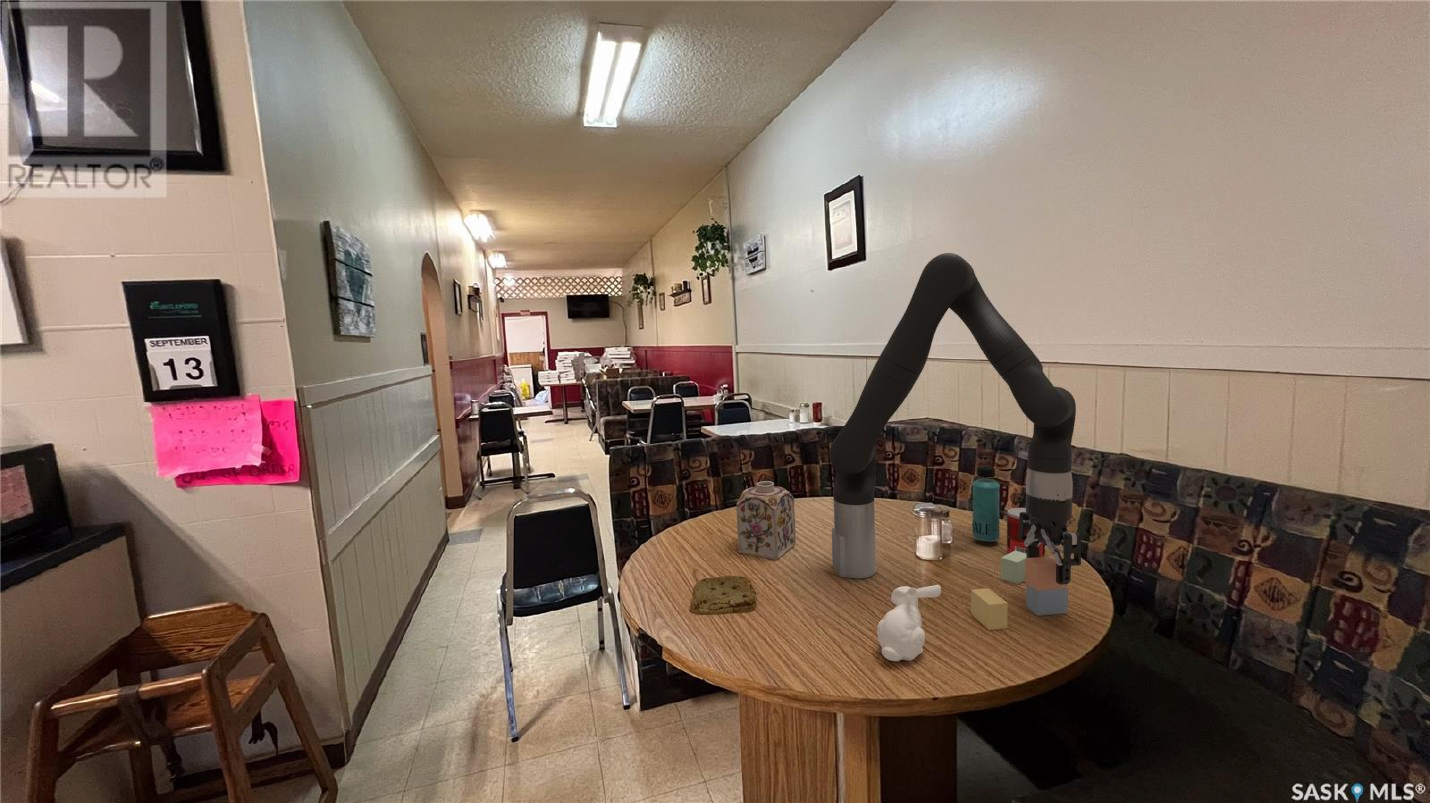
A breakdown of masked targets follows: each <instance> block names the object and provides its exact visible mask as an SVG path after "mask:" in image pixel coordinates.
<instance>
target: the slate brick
mask: <svg viewBox="0 0 1430 803" xmlns="http://www.w3.org/2000/svg"><path fill="white" fill-rule="evenodd" d="M1025 584H1026V583H1025ZM1068 604H1069V587H1067V588H1063V589H1051V590H1040V591H1037V590H1035V589H1034V588H1032V587H1031V586H1029V585H1028V584H1026V586H1025V607H1026V608H1027V610H1030V611H1031V612H1033V613H1034V614H1035V615H1036V616H1038V617H1039V616H1049V615H1060V614H1068V610H1069V605H1068Z"/></svg>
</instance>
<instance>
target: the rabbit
mask: <svg viewBox="0 0 1430 803" xmlns="http://www.w3.org/2000/svg"><path fill="white" fill-rule="evenodd" d="M941 594H942V588H941V585H939V584H935V585H931V586H923V587H919V588H916V587H910V586H904V585H903V586H899V587H896V588H895V589H894V590H893V591H892V593H891V597H890V600H891V602H892V603H893V604H894V605H895V607H894V608H893V609H891V610H888V612H886V613H885V615H884V617H883V618H882V619H880V621H879V622H878V624H877V633H876V634H877V639H878V644H879V646H880V647H881V654H882V656H883V657H884V658H885V659H886V660H888V661H891V662H900V661H902V660H903V661H913V660H914V659H916V658H917V657H918V656H919V655H920V654H922V653H924V648H923V646H924V644H925V640H926V632H925V631H924V629H923V628H922V627H923V621H922V620H923V619H922V615H921V613H920V610H919V608H918V607H919V599H918V598H938V597H939V596H940V595H941Z"/></svg>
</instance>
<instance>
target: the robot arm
mask: <svg viewBox="0 0 1430 803" xmlns="http://www.w3.org/2000/svg"><path fill="white" fill-rule="evenodd" d="M909 300H910V301H909V303H908V305H907V307H906V310H905V312H904V313H903V315H902V317H901V319H900V320H899V322H898V323H897V325H896V327H895V329H894V330H893V332H892V333H891V335H890V338H889V339H888V341H887V343H886V345H885V346H884V348H883V349H882V351H881V353H880V355H879V357H878V359H877V360H876V362H875V364H874V366H873V367H872V369H871V372H870V374H869V376H868V378H867V380H866V382H865V385H864V386H863V388H862V392H861V394H860V396H859V398H858V400H857V403H856V405H855V407H854V410H853V412H852V413H851V415H850V417H849V418H848V419H847V421H846V423H845V424H844V425H843V427H842V428H841V430H840V431H839V433H838V434H837V436H836V437H835V438H834V439H833V441H832V442H831V444H830V447H829V451H828V452H829V453H828V454H829V455H828V456H829V460H830V464H831V465H832V468H833V469H834V470H835V480H834V485H833V489H832V493H833V494H832V496H833V497H832V498H833V499H832V500H833V527H832V528H831V551H832V552H831V553H832V554H831V556H832V568H833V569H834V570H835V572H836V573H837V575H838V576H839V577H840V578H851V579H865V578H870V577H873V576H874V575H875V574H876V572H877V571H876V570H877V569H876V568H877V561H876V523H875V522H876V520H875V519H876V515H875V509H876V508H875V491H876V483H877V482H876V480H877V478H876V477H877V476H876V475H877V471H876V470H877V469H876V468H877V466H876V465H877V459H876V458H877V456H876V455H877V453H876V452H877V451H876V443H877V441H878V439H879V438H880V436H881V433H882V432H883V430H884V428H885V427H886V424H887V423H888V422H889V421H890V419H891V418H892V417H893V416H894V415H895V413H896V412H897V411H898V409H899V408H900V407H901V405H902V404H903V403H904V401H905V400H906V399H907V397H908V395H909V394H910V393H911V391H912V389H913V388H914V386H915V384H916V383H917V381H918V379H919V377H920V375H921V374H922V372H923V370H924V369H925V367H926V363H927V361H928V358H929V354H930V353H931V351H930V350H931V348H932V344H933V340H934V336H935V334H936V331H937V329H938V327H939V325H940V323H941V321H942V319H943V318H944V316H945V315H946V313H947V311H948V310H949V309H950V310H951V311H952V312H953V313H954V314H956V316H958V318H959V319H960V320H961V321H962V322H963V324H965V326H966V327H967V329H968V330H969V332H970V333H971V335H972V336H973V338H974V340H975V342H976V343H977V345H978V346H979V349H981V351H982V353H983V354H984V356H985V358H986V359H987V360H988V362H989V363H990V364H991V365H992V367H993V368H994V370H995V371H996V372H997V374H998V375H999V376H1000V378H1002V380H1003V381H1004V382H1005V383H1006V384H1007V386H1008V388H1009V390H1010V392H1011V394H1012V396H1013V398H1014V399H1015V402H1016V404H1017V405H1018V406H1019V407H1018V408H1020V410H1021V412H1022V413H1023V414H1024V416H1025V417H1026V418H1027V419H1028V420H1029V421H1030V422H1032V423H1033V431H1032V432H1033V435H1032V437H1031V439H1030V441H1029V443H1028V446H1027V447H1028V448H1027V449H1028V450H1027V473H1026V480H1025V481H1026V482H1025V508H1026V512H1020V514H1019V539H1020V540H1023V541H1024V544H1025V546H1026V547H1027V549H1026V553H1027V554H1026V555H1027V556H1026V558H1035V557H1039V555H1040V548H1039V547H1037V546H1039V545H1040V544H1041V542H1042V543H1044V544H1045V547H1047V548H1048V551H1049V553H1050V554H1052V556H1054V557H1055V559H1056V562H1057V564H1056V582H1057V583H1058V584H1060V585H1063V584H1067V585H1069V584H1070V582H1071V574H1072V573H1071V572H1072V571H1071V570H1072V569H1071V568H1072V567H1075V566H1076V567H1077V566H1081V565H1082V536H1081V533H1079V532H1071V531H1069V530H1068V527H1067V523H1068V521H1070V520H1071V519H1072V517H1073V488H1074V486H1073V485H1074V484H1073V483H1074V482H1073V477H1072V476H1073V475H1072V474H1073V473H1072V462H1073V461H1072V459H1073V458H1072V452H1073V451H1072V440H1073V436H1074V431H1075V424H1076V415H1077V414H1076V412H1077V407H1076V406H1077V404H1076V400H1075V398H1074V396H1073V395H1072V393H1071V392H1070V391H1069V390H1067V389H1065V388H1063V387H1060V386H1054V384H1052V382H1051V381H1050V379H1049V377H1048V376H1047V375H1046V374H1045V373H1044V367H1043V364H1042V362H1041V361H1040V359H1039V358H1038V357H1037V355H1036V354H1035V353H1034V352H1033V350H1032V349H1031V347H1029V345H1028V344H1027V343H1026V342H1025V341H1024V339H1023V338H1022V337H1021V336H1020V335H1019V334H1018V332H1017V331H1016V330H1015V329H1014V328H1013V327H1012V326H1011V325H1010V324H1009V323H1008V322H1007V320H1006V319H1005V318H1004V317H1003V315H1001V313H1000V312H999V311H998V310H997V309H996V307H995V306H994V304H993V302H991V300H990V299H989V297H988V296H987V294H986V292H985V291H984V289H983V287H982V284H981V283H980V281H979V279H978V277H977V276H976V273H975V270H974V268H973V266H972V264H970V263H969V262H968V261H967V260H965V259H964V258H963V257H962V256H961V255H959V254H956V253H953V252H944V253H941V254H938V255H936V256H935V257H933V258H931V260H929V261H928V263H927V264H926V265H925V266H924V268H923V269H922V272H921V274H920V277H919V278H918V281H917V283H916V286H915V288H914V291H913V294H912V296H911V298H910V299H909ZM1026 529H1028V534H1025V530H1026ZM1060 545H1062V546H1061V547H1059V546H1060ZM1061 553H1062V554H1063V556H1061ZM1072 554H1073V557H1072ZM1062 557H1063V558H1062Z"/></svg>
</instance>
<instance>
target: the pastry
mask: <svg viewBox="0 0 1430 803" xmlns="http://www.w3.org/2000/svg"><path fill="white" fill-rule="evenodd" d="M692 589H693V590H692V591H693V592H692V598H691V600H690V601H691V602H690V606H689V609H690V610H689V611H690V612H691V613H693V614H695V615H702V616H703V615H710V616H711V615H715V616H716V615H723V614H733V613H750V612H752V611H755V609H756V608H757V591H756V590H755V587H754V585H753V584H752V581H751V579H750V578H749V577H746V576H740V575H722V576H715V577H705V578H701V579H699V580H698V581H697V582H696V583H695V584H694V586H693V588H692Z"/></svg>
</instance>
